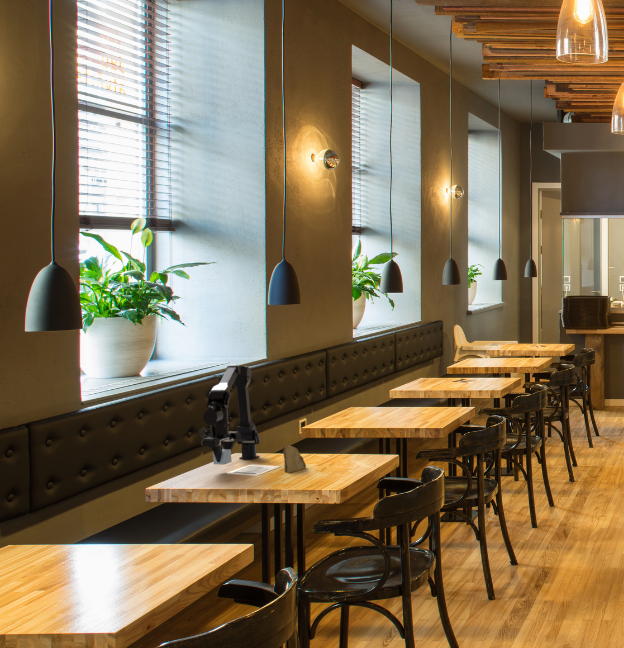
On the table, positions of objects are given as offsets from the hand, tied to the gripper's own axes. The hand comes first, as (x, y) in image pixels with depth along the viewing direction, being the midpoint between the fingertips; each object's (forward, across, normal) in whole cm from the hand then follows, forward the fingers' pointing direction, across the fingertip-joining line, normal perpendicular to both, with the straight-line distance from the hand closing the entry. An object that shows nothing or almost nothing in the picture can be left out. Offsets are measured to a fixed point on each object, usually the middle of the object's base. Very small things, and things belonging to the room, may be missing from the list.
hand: (222, 460), depth 314 cm
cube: (+1, 0, 0) cm, 1 cm away
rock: (+5, -14, +25) cm, 29 cm away
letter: (+5, -8, +9) cm, 13 cm away
